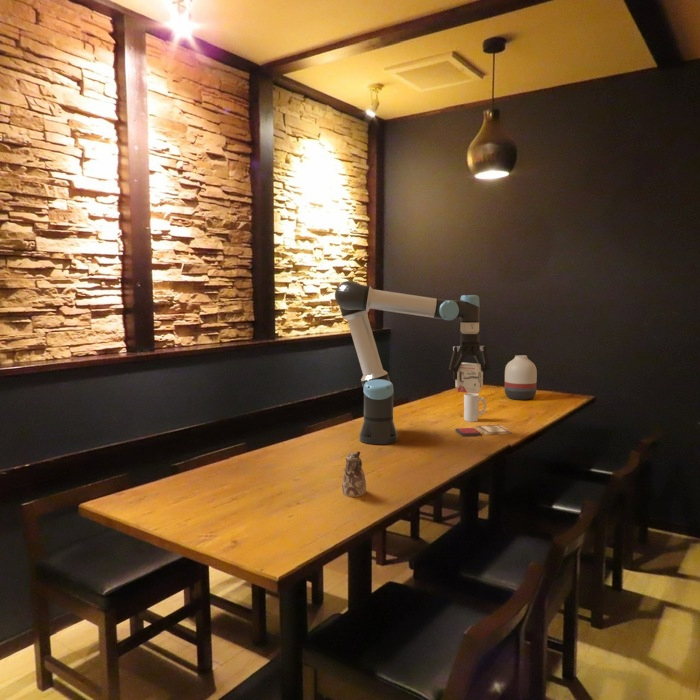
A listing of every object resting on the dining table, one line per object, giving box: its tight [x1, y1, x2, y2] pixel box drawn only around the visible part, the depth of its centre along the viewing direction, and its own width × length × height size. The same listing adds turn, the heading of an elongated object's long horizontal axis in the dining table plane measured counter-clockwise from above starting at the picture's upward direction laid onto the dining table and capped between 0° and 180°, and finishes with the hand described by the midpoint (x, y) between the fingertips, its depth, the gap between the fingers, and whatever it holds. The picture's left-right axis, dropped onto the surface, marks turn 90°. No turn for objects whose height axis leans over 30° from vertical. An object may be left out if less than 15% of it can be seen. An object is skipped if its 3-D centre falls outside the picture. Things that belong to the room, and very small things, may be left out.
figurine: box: [341, 450, 367, 498], centre depth 174 cm, size 7×7×12 cm
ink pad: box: [454, 427, 483, 437], centre depth 248 cm, size 8×10×1 cm
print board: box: [475, 424, 513, 436], centre depth 253 cm, size 11×13×1 cm
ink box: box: [457, 362, 481, 394], centre depth 246 cm, size 9×5×12 cm, turn 62°
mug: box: [463, 393, 487, 423], centre depth 273 cm, size 10×7×12 cm, turn 76°
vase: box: [504, 354, 538, 401], centre depth 329 cm, size 17×17×24 cm
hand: (469, 387), depth 246 cm, fingers closed on ink box, 9 cm apart
